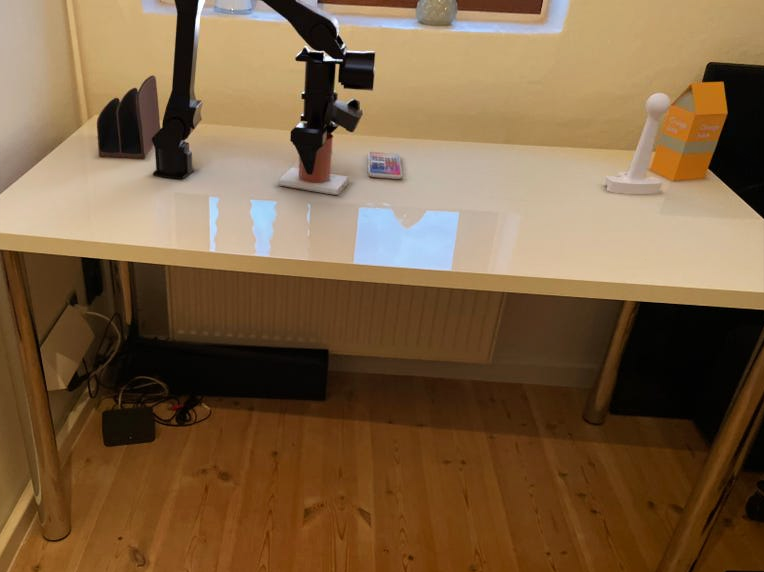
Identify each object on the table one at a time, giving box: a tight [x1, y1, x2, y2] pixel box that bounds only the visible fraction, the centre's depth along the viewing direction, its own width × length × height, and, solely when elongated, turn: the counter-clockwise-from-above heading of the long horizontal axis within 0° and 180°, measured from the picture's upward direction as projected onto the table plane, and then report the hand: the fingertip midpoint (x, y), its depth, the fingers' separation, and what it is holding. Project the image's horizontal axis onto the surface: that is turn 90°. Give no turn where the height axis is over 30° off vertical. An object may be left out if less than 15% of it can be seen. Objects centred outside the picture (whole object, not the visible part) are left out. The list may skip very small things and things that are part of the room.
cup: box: [297, 132, 334, 183], centre depth 147 cm, size 6×6×8 cm
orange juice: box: [649, 81, 729, 182], centre depth 161 cm, size 8×9×20 cm
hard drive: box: [278, 167, 350, 196], centre depth 150 cm, size 2×8×12 cm
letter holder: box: [96, 75, 162, 160], centre depth 163 cm, size 10×20×14 cm, turn 179°
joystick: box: [603, 92, 671, 195], centre depth 152 cm, size 11×8×20 cm
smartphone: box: [367, 151, 403, 180], centre depth 161 cm, size 7×1×15 cm
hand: (315, 167), depth 148 cm, fingers open, 9 cm apart
